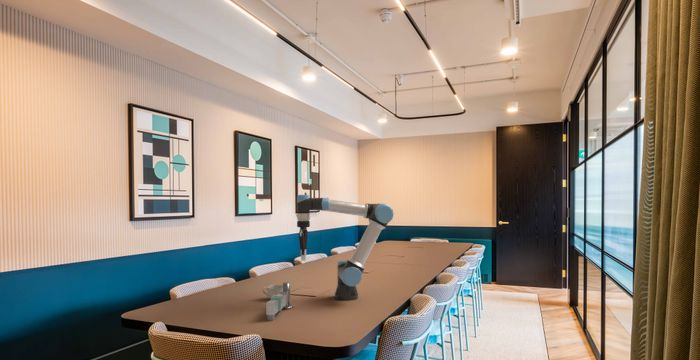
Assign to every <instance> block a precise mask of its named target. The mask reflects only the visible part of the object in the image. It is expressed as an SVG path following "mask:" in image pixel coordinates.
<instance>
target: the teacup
mask: <svg viewBox="0 0 700 360" xmlns="http://www.w3.org/2000/svg"><path fill="white" fill-rule="evenodd" d="M265 290H266V291H267V292H266V291H265ZM280 291H283V284H271V285H268V286H264V287H263V288H262V289H261V292H262V294H264V295H265V296H267V297H268V298H269V299H270V300H271V297H272V296H273V295H278V294H280Z"/></svg>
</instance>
